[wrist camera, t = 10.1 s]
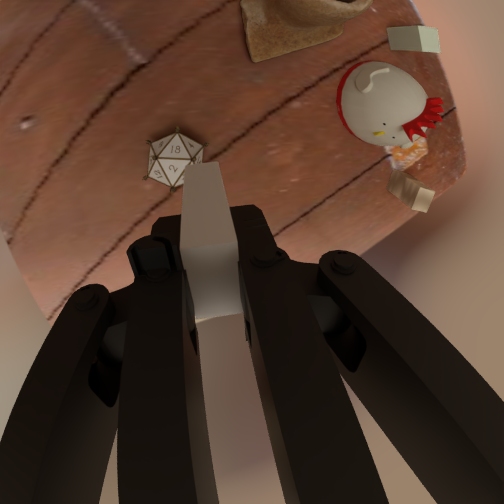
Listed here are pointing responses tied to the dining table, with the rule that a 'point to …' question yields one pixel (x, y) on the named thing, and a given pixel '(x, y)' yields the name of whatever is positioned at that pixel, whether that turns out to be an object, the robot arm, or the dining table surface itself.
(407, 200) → the birch block
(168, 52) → the dining table surface
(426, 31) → the sage block
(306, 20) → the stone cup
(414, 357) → the robot arm
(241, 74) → the dining table surface
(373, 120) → the kitchen timer
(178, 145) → the game die
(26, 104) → the dining table surface
